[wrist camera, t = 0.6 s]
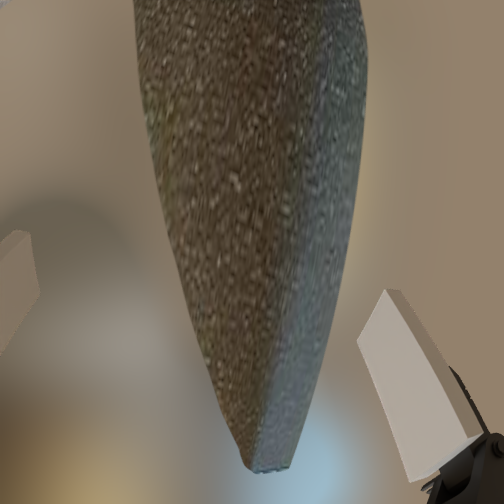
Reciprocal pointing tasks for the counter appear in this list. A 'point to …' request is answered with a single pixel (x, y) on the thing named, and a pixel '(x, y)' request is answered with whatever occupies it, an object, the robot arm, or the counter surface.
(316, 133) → the counter surface
